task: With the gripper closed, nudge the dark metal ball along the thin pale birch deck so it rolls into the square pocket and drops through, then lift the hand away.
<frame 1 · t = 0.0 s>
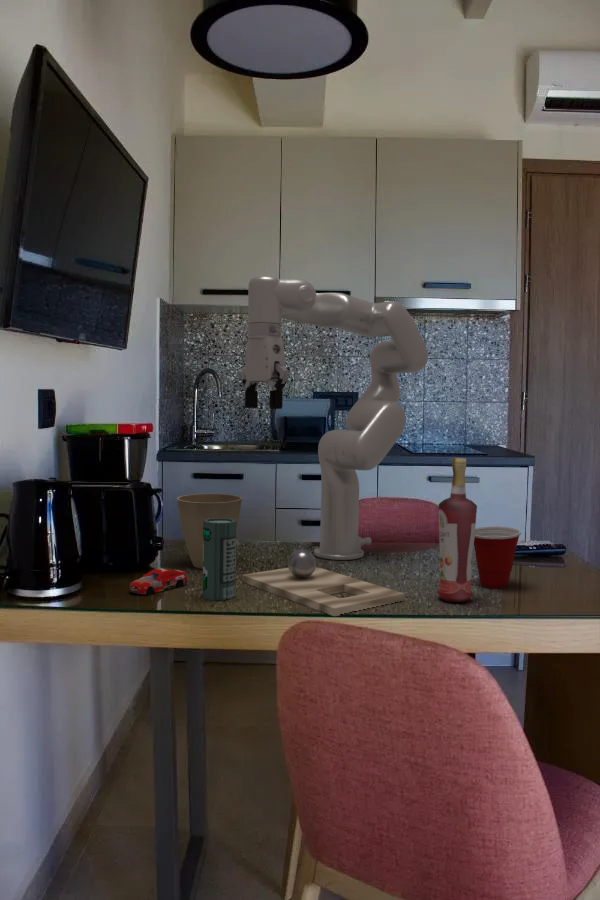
hand: (263, 408, 165), 37 cm above the table, tool pointing down, fingers open, 9 cm apart
steel ball: (301, 563, 152), point 4 cm above the table, touching pocket deck
plastic cup: (492, 586, 155), on the table
race car: (158, 590, 147), on the table
plant pot: (208, 566, 168), on the table
liquor: (454, 600, 143), on the table
can: (219, 597, 142), on the table
pocket deck: (319, 591, 147), on the table
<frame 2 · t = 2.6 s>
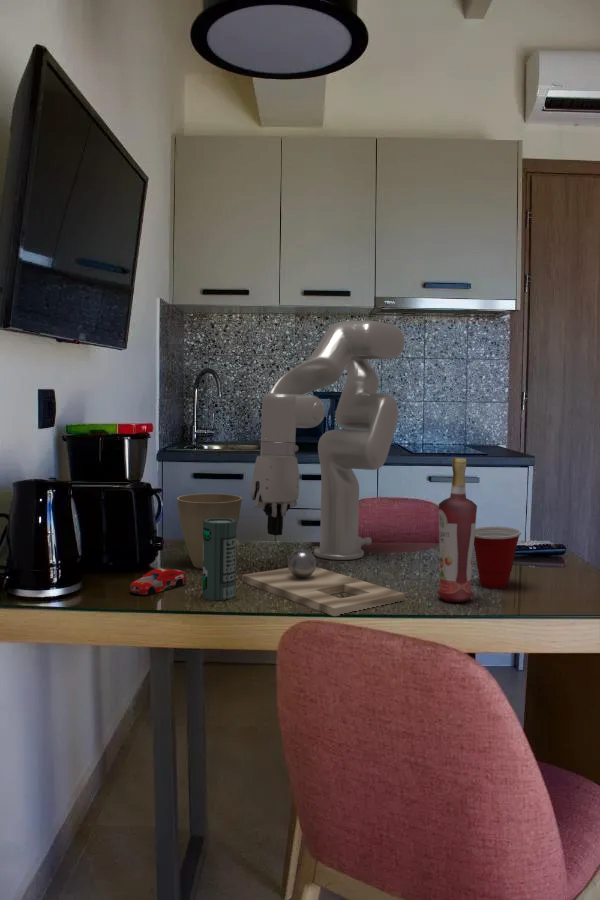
hand: (274, 534, 158), 9 cm above the table, tool pointing down, fingers closed
nothing on the table moved.
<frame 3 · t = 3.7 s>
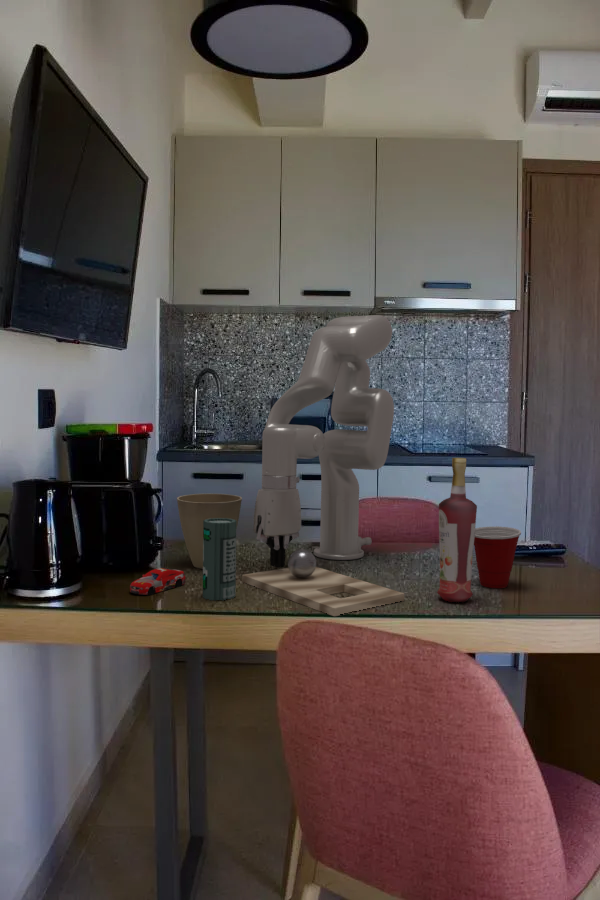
hand: (277, 566, 159), 2 cm above the table, tool pointing down, fingers closed
nothing on the table moved.
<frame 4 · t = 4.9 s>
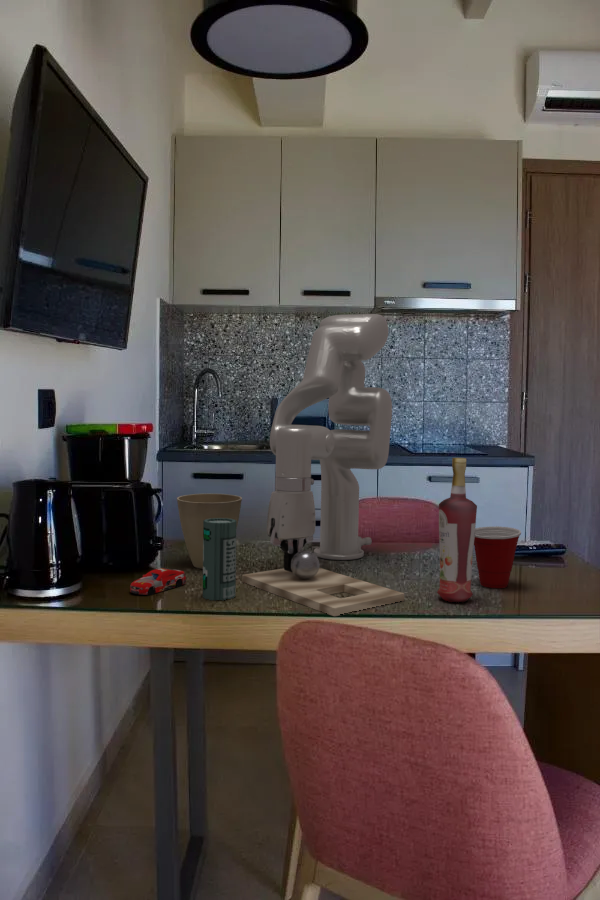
hand: (291, 570, 155), 2 cm above the table, tool pointing down, fingers closed
steel ball: (305, 564, 151), point 4 cm above the table, tilted 22°, touching pocket deck
everything else where it was.
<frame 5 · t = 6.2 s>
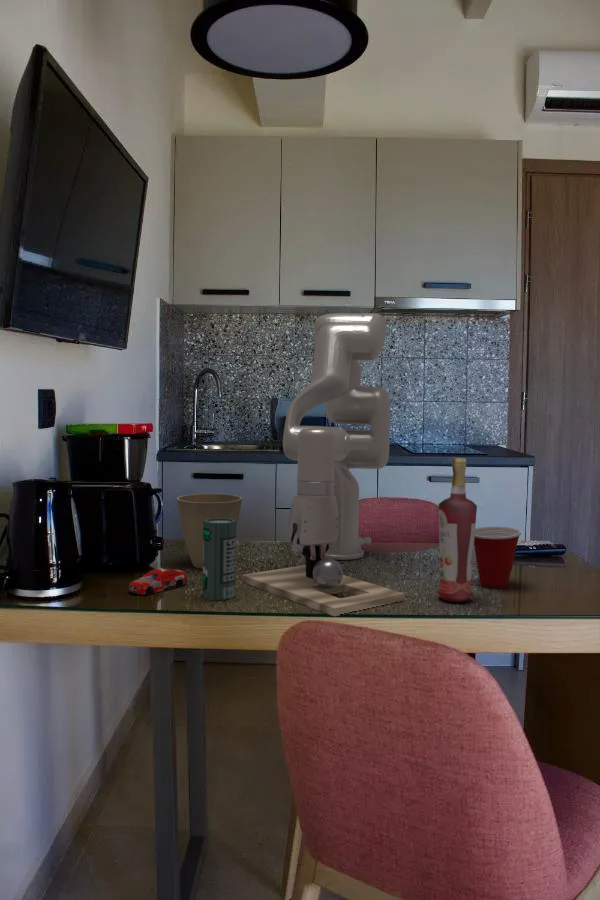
hand: (313, 577, 149), 2 cm above the table, tool pointing down, fingers closed
steel ball: (327, 573, 144), point 4 cm above the table, tilted 175°, touching pocket deck
everything else where it was.
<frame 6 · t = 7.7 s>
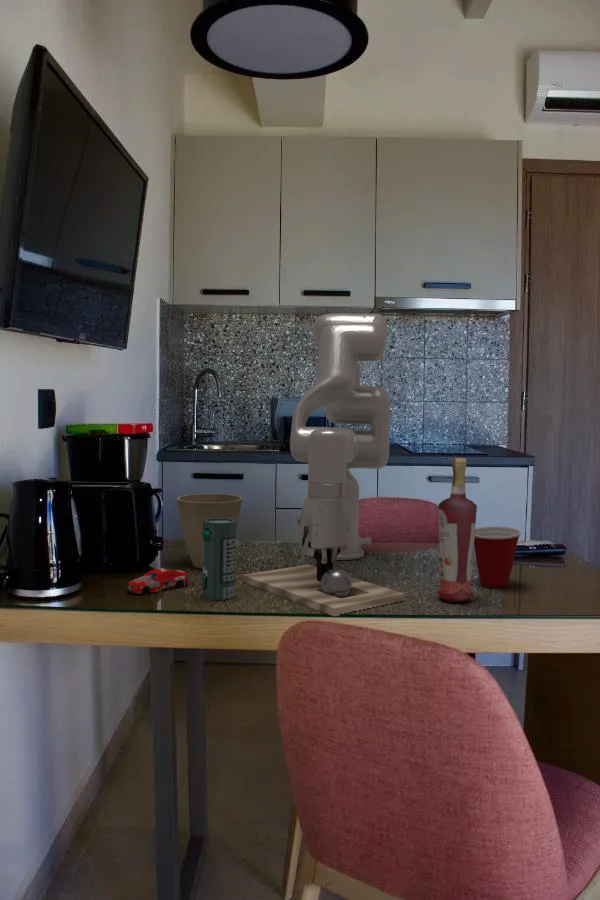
hand: (324, 581, 146), 2 cm above the table, tool pointing down, fingers closed
steel ball: (336, 583, 141), point 3 cm above the table, tilted 102°
everything else where it was.
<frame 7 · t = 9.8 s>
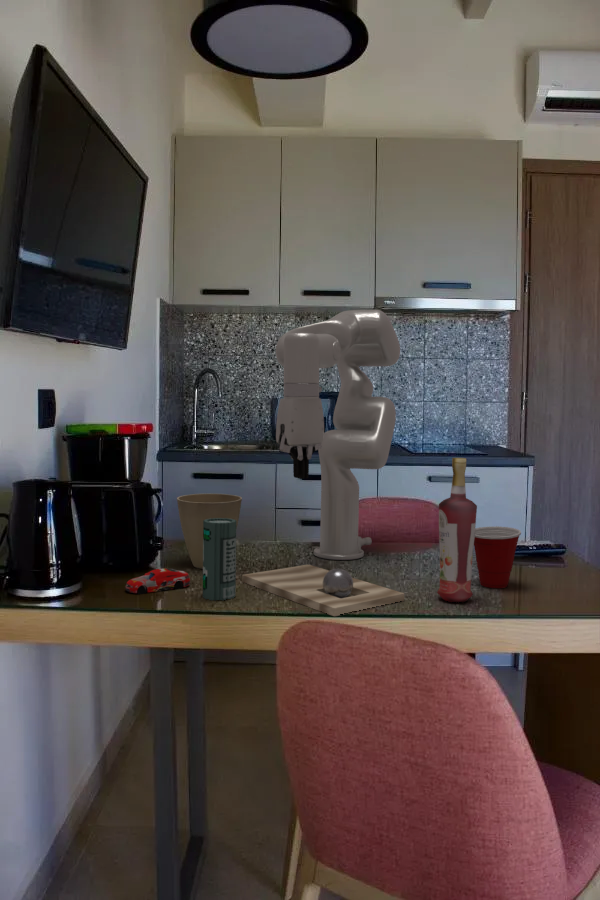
hand: (301, 477, 155), 22 cm above the table, tool pointing down, fingers closed
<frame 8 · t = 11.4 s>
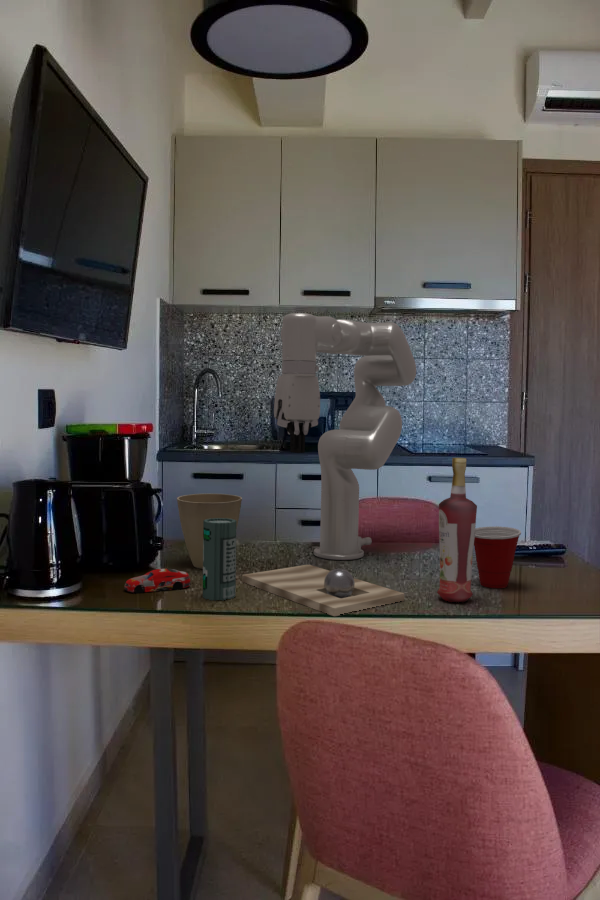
hand: (297, 452, 162), 27 cm above the table, tool pointing down, fingers closed
at the end: steel ball 0.7 cm from the target spot on the pocket deck, point 3.0 cm above the pocket deck's base; steel ball moved 12.8 cm from its start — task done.
